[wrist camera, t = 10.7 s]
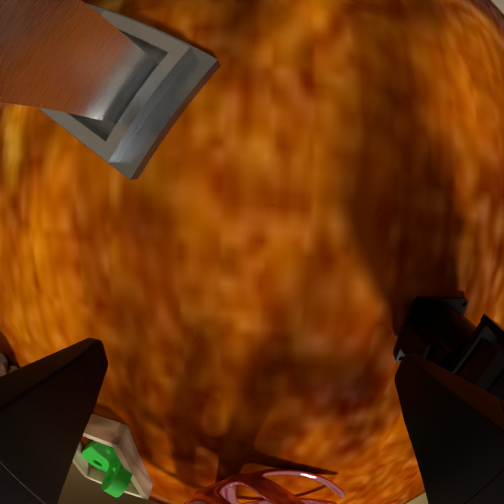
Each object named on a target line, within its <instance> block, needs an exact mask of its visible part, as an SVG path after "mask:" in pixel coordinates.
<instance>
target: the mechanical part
mask: <svg viewBox="0 0 504 504" xmlns="http://www.w3.org/2000/svg"><path fill="white" fill-rule="evenodd" d="M82 456H83V457H84V459H85V460H86V461H88V462H89V463H90V464H91V465H93V466H94V467H96V468H97V469H99V470H101V471H102V472H104V473H105V474H106V475H105V477H104V479H103V482H102V487H101V488H102V490H104V491H105V492H107V493H109V494H111V495H112V496H114V497H119V496H120V495H122V494H123V492H124V491H125V490H126V488H127V487H128V485H129V483H130V480H131V478H132V475H133V474H132V473H130V472H129V471H127V470H125V469H124V467H123V465H122V463H121V462H120V460H119V458H118V456H117V454H116V452H115V450H114V448H113V447H111V446H108V445H105V444H102V443H100V442H97V441H94V440H93V441H91V442H90V443H89V444H87V445H86V446H85V448H84V450H83V452H82Z"/></svg>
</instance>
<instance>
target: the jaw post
mask: <svg viewBox="0 0 504 504" xmlns="http://www.w3.org/2000/svg"><path fill="white" fill-rule="evenodd" d="M157 66H158V64H157V63H156V62H155V61H154V60H153V59H152V58H151V57H150V56H148V55H147V54H146V53H145V52H144V51H143V50H142V49H141V48H139V47H138V46H137V45H136V44H135V43H134V42H132V41H131V40H130V39H129V38H128V37H127V36H125V35H124V34H123V33H122V32H121V31H120V30H118V29H117V28H116V27H115V26H113V25H112V24H111V23H110V22H109V21H107V20H106V19H105V18H104V17H102V16H101V15H100V14H99V13H97V12H96V11H95V10H93V9H92V8H91V7H90V6H88V5H87V4H86V3H84V2H83V1H82V0H0V102H4V103H12V104H19V105H26V106H32V107H38V108H44V109H50V110H55V111H60V112H65V113H70V114H75V115H80V116H84V117H89V118H93V119H97V120H102V121H106V122H110V123H114V124H117V122H118V121H119V119H120V118H121V116H122V114H123V113H124V111H125V110H126V108H127V107H128V105H129V104H130V102H131V101H132V100H133V98H134V97H135V95H136V94H137V92H138V91H139V90H140V88H141V87H142V86H143V84H144V83H145V82H146V80H147V79H148V78H149V76H150V75H151V74H152V72H153V71H154V70H155V69H156V67H157Z"/></svg>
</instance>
